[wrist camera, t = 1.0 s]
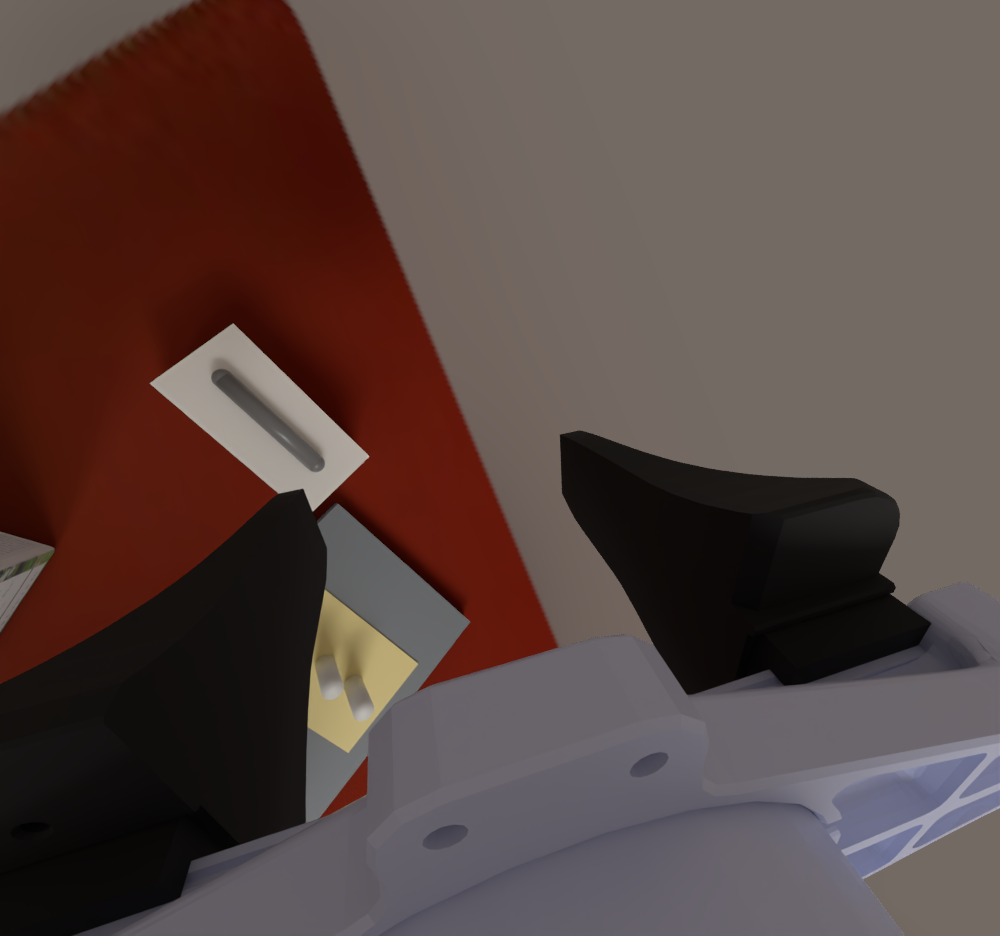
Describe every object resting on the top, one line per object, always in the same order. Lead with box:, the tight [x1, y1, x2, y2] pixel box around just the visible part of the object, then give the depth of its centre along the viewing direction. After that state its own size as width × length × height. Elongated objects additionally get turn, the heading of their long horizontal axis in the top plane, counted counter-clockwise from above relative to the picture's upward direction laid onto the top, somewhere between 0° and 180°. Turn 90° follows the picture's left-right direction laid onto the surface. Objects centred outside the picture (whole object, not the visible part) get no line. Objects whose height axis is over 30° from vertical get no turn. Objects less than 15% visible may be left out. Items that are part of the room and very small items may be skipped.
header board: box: [306, 503, 470, 823], centre depth 22 cm, size 13×11×4 cm
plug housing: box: [150, 324, 369, 512], centre depth 20 cm, size 4×8×5 cm, turn 46°
